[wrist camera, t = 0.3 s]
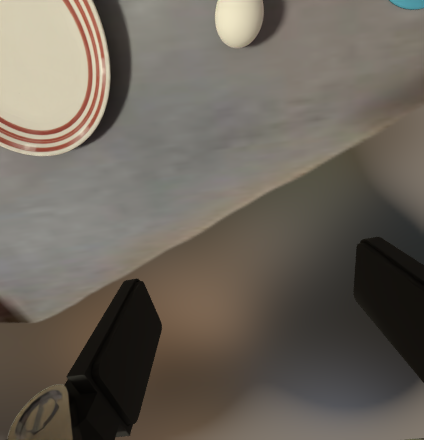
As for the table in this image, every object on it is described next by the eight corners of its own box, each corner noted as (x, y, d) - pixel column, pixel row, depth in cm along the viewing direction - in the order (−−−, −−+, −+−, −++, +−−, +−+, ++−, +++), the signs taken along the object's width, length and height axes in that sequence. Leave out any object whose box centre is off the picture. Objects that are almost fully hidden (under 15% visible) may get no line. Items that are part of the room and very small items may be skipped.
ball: (208, 11, 28) (207, -18, 22) (251, -11, 27) (261, -47, 21) (223, 62, 30) (225, 47, 25) (263, 43, 29) (274, 23, 24)
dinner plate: (93, 181, 38) (82, 186, 35) (-77, 102, 33) (-107, 99, 30) (145, 2, 28) (136, -14, 25) (-88, -149, 23) (-135, -192, 20)
